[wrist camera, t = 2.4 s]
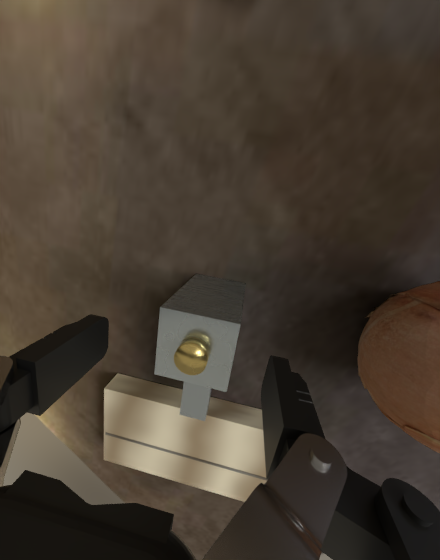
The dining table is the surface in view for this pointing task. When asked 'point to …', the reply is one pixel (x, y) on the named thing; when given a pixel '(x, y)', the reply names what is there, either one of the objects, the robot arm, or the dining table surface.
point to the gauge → (200, 339)
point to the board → (183, 438)
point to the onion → (405, 361)
